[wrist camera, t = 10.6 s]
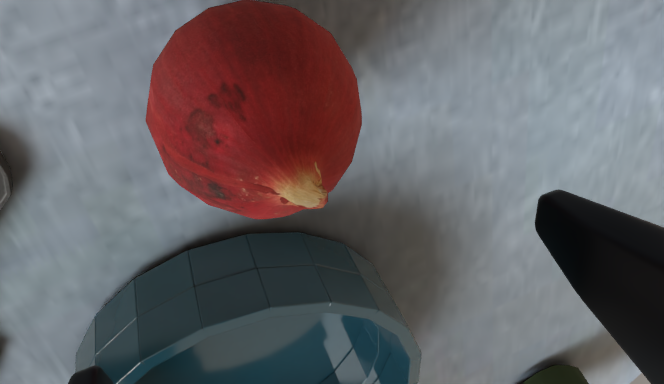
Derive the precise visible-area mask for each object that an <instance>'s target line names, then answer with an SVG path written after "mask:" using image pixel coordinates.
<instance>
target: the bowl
mask: <svg viewBox="0 0 664 384" xmlns="http://www.w3.org/2000/svg"><path fill="white" fill-rule="evenodd" d="M420 362H421V351H420V349H419V347H418V345H417V343H416V341H415V339H414V337H413V335H412V333H411V331H410V329H409V327H408V325H407V324H406V322H405V320H404V318H403V317H402V315H401V313H400V311H399V310H398V308H397V306H396V304H395V303H394V301H393V299H392V297H391V296H390V294H389V292H388V290H387V289H386V287H385V285H384V283H383V282H382V280H381V278H380V276H379V275H378V273H377V271H376V269H375V268H374V266H373V265H372V264H371V263H370V262H369V261H367V260H366V259H364V258H363V257H362V256H360V255H359V254H357V253H356V252H355V251H353V250H352V249H350V248H349V247H348V246H346V245H345V244H343V243H340V242H336V241H332V240H328V239H324V238H320V237H316V236H312V235H308V234H305V233H300V232H290V233H257V234H246V235H241V236H237V237H234V238H230V239H226V240H223V241H219V242H215V243H212V244H208V245H204V246H201V247H197V248H193V249H190V250H188V251H185V252H183V253H181V254H179V255H177V256H175V257H173V258H172V259H170V260H168V261H166V262H164V263H162V264H160V265H159V266H157V267H155V268H153V269H151V270H149V271H147V272H146V273H144V274H142V275H140V276H138V277H136V278H135V279H133V280H132V281H131V282H130V283H129V284H128V285H127V286H126V287H125V288H124V289H123V290H122V291H121V292H119V293H118V294H117V295H116V296H115V297H114V298H113V299H112V300H111V301H110V302H109V303H108V304H107V305H106V306H105V307H104V308H103V309H101V310H100V311H99V312H98V313H97V314H96V316H95V317H94V319H93V321H92V323H91V325H90V327H89V329H88V331H87V333H86V335H85V337H84V339H83V341H82V343H81V345H80V347H79V349H78V351H77V353H76V369H75V373H76V372H78V371H81V370H83V369H86V368H88V367H91V366H94V365H97V366H100V367H101V368H102V369H103V371H104V372H105V373H106V374H107V375H108V377H109V378H110V379H111V380H112V381H113V383H114V384H418V381H419V372H420Z"/></svg>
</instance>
